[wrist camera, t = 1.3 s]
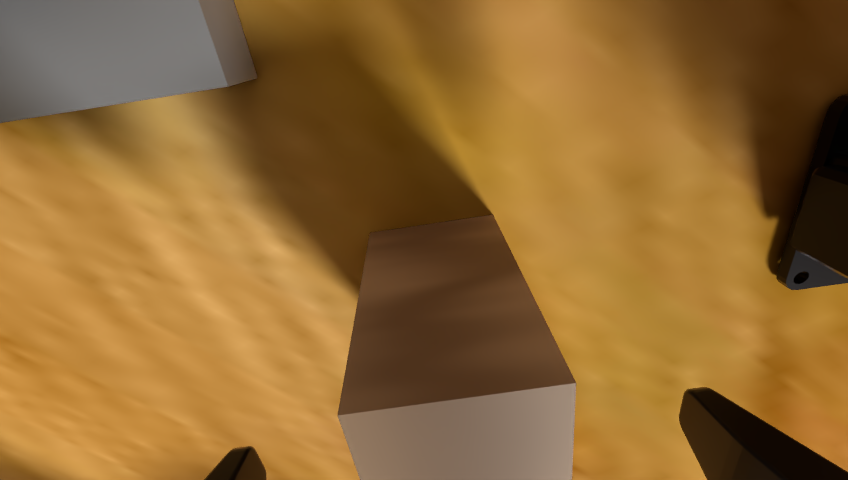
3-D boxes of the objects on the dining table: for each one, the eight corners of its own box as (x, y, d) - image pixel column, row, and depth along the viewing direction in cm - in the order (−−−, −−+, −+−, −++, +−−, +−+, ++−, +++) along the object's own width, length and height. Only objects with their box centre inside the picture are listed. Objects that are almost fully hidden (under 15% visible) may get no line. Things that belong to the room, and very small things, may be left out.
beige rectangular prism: (492, 214, 13) (576, 383, 7) (499, 313, 15) (570, 519, 8) (369, 232, 13) (337, 415, 7) (391, 328, 15) (382, 543, 9)
